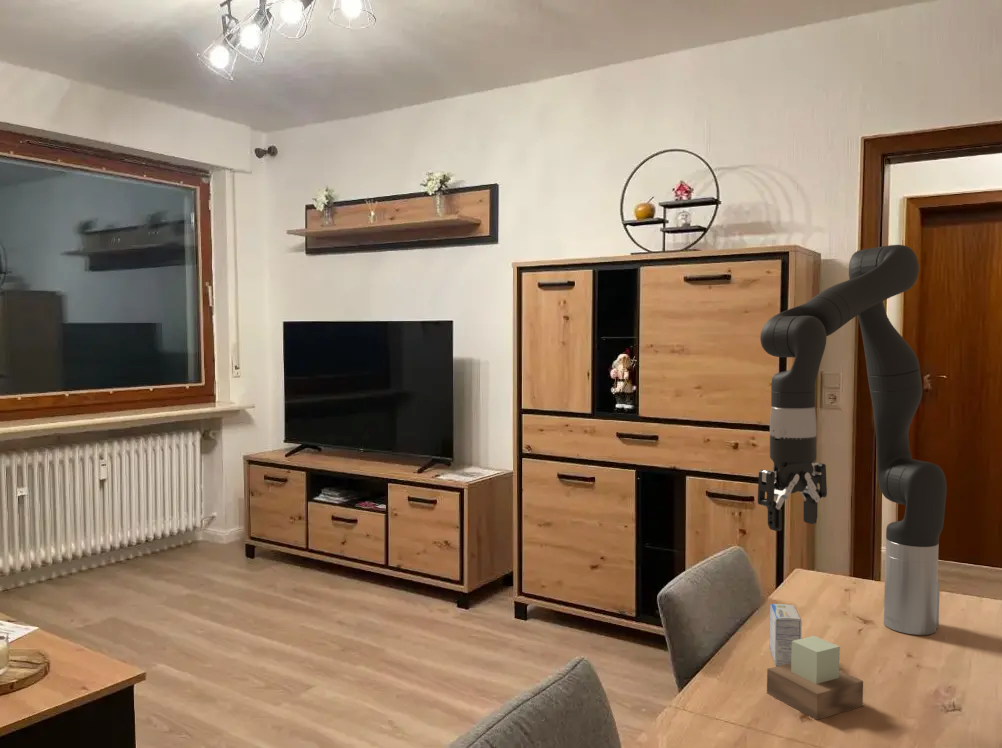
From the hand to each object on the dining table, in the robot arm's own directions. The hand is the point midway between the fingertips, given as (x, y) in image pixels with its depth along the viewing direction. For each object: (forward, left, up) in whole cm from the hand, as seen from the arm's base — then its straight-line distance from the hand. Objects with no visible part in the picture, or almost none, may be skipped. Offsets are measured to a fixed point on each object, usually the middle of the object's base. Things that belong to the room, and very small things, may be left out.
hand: (792, 526), depth 137 cm
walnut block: (+6, +11, -25) cm, 28 cm away
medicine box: (-2, -3, -25) cm, 25 cm away
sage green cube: (+6, +11, -21) cm, 24 cm away
